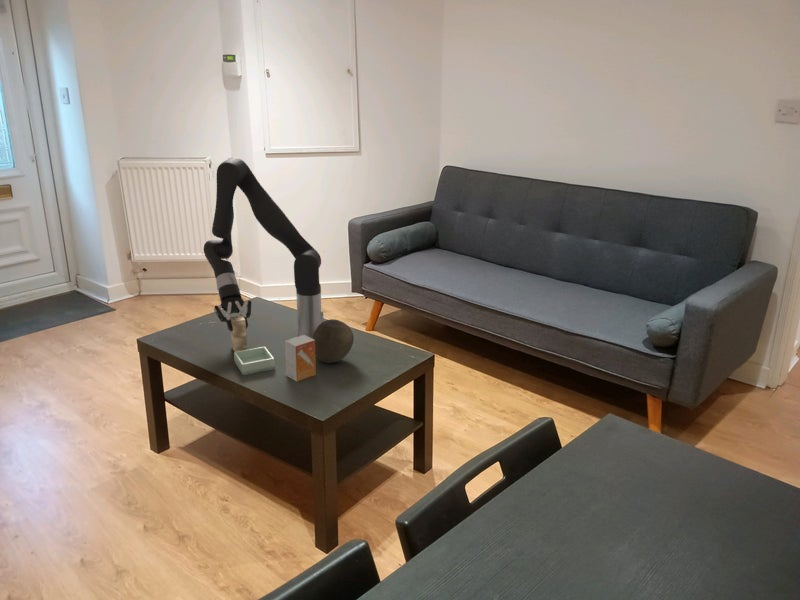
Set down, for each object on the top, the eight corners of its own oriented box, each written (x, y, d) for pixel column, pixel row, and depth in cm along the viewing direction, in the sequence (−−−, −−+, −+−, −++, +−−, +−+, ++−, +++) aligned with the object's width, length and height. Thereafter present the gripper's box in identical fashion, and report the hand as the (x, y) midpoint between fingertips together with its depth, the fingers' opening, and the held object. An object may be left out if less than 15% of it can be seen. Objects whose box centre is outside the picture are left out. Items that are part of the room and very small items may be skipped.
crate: (265, 356, 239) (264, 346, 238) (274, 369, 230) (274, 358, 229) (234, 362, 234) (233, 352, 233) (243, 375, 225) (242, 364, 224)
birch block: (244, 345, 248) (241, 315, 244) (247, 350, 244) (245, 319, 240) (232, 347, 246) (229, 317, 242) (235, 352, 242) (232, 321, 238)
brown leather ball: (329, 373, 227) (328, 332, 222) (304, 360, 237) (303, 320, 232) (361, 361, 237) (361, 322, 232) (336, 349, 246) (335, 311, 241)
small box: (296, 382, 221) (295, 346, 216) (285, 375, 225) (284, 340, 221) (316, 374, 226) (315, 339, 222) (305, 368, 231) (304, 334, 226)
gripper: (209, 285, 241) (220, 328, 235) (248, 280, 247) (259, 322, 241) (207, 295, 247) (217, 337, 241) (245, 289, 253) (256, 330, 248)
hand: (238, 329), depth 241 cm, fingers closed on birch block, 4 cm apart
